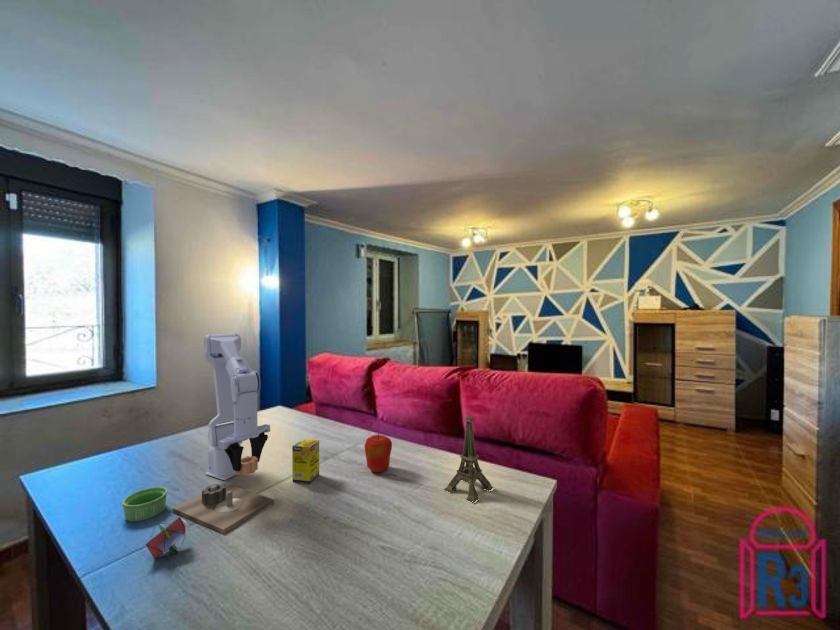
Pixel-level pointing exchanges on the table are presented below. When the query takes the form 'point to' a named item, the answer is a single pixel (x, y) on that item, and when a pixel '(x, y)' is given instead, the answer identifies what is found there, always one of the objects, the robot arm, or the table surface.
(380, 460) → the apple
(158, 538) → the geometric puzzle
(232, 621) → the table surface
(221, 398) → the robot arm
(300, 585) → the table surface
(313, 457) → the supplement box
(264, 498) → the gear board
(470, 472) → the eiffel tower
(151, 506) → the ramekin
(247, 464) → the gear
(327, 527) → the table surface
